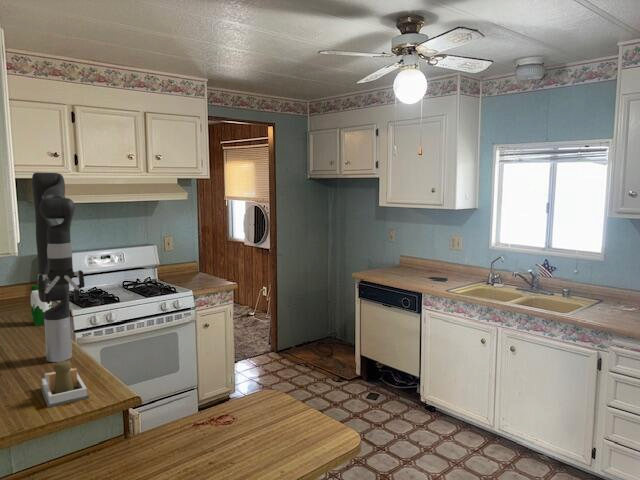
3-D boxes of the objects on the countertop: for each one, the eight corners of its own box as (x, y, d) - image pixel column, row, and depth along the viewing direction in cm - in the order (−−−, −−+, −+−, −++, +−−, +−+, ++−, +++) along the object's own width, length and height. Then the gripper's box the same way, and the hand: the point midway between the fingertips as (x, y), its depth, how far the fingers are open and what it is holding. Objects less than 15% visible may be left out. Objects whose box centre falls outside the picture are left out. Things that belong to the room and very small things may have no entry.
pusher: (48, 388, 164) (47, 371, 164) (75, 383, 169) (74, 366, 169) (49, 392, 162) (48, 375, 161) (77, 386, 167) (76, 369, 166)
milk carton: (31, 322, 247) (29, 284, 245) (51, 320, 252) (49, 282, 250) (32, 326, 240) (30, 287, 238) (53, 324, 245) (51, 285, 243)
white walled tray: (40, 388, 168) (39, 374, 167) (78, 380, 175) (77, 367, 174) (47, 407, 153) (47, 392, 153) (88, 398, 160) (88, 383, 160)
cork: (66, 398, 158) (64, 365, 157) (49, 396, 159) (47, 364, 158) (78, 390, 164) (76, 359, 163) (61, 389, 165) (60, 358, 164)
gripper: (80, 253, 174) (82, 297, 175) (34, 256, 165) (37, 302, 167) (84, 255, 168) (86, 301, 169) (37, 259, 159) (40, 306, 161)
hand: (62, 301), depth 168 cm, fingers open, 8 cm apart
